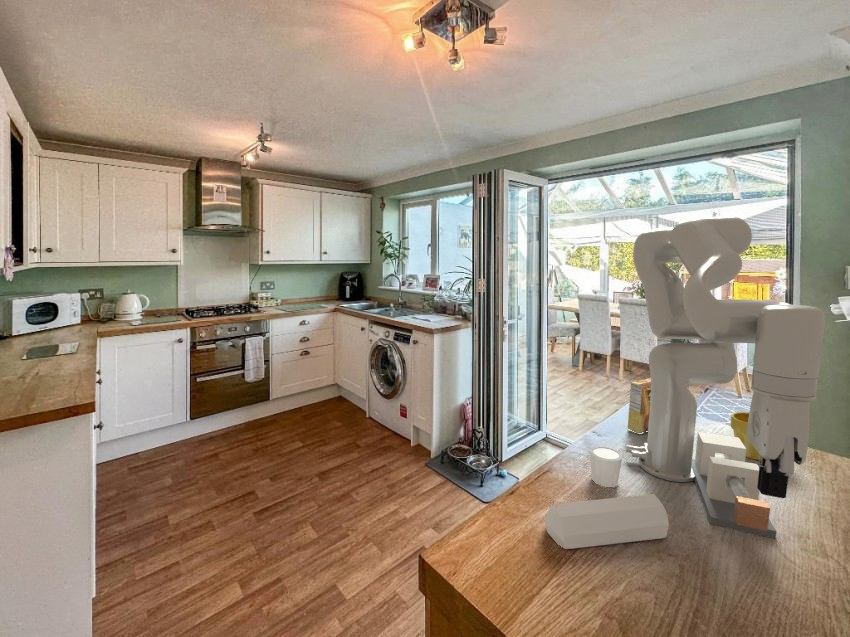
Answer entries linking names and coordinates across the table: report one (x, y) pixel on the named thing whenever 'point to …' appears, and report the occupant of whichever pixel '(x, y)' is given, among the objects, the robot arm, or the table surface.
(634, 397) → the candy box
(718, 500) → the bearing base
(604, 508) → the crystal
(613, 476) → the shot glass
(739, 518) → the shaft
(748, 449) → the plant pot
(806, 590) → the table surface
